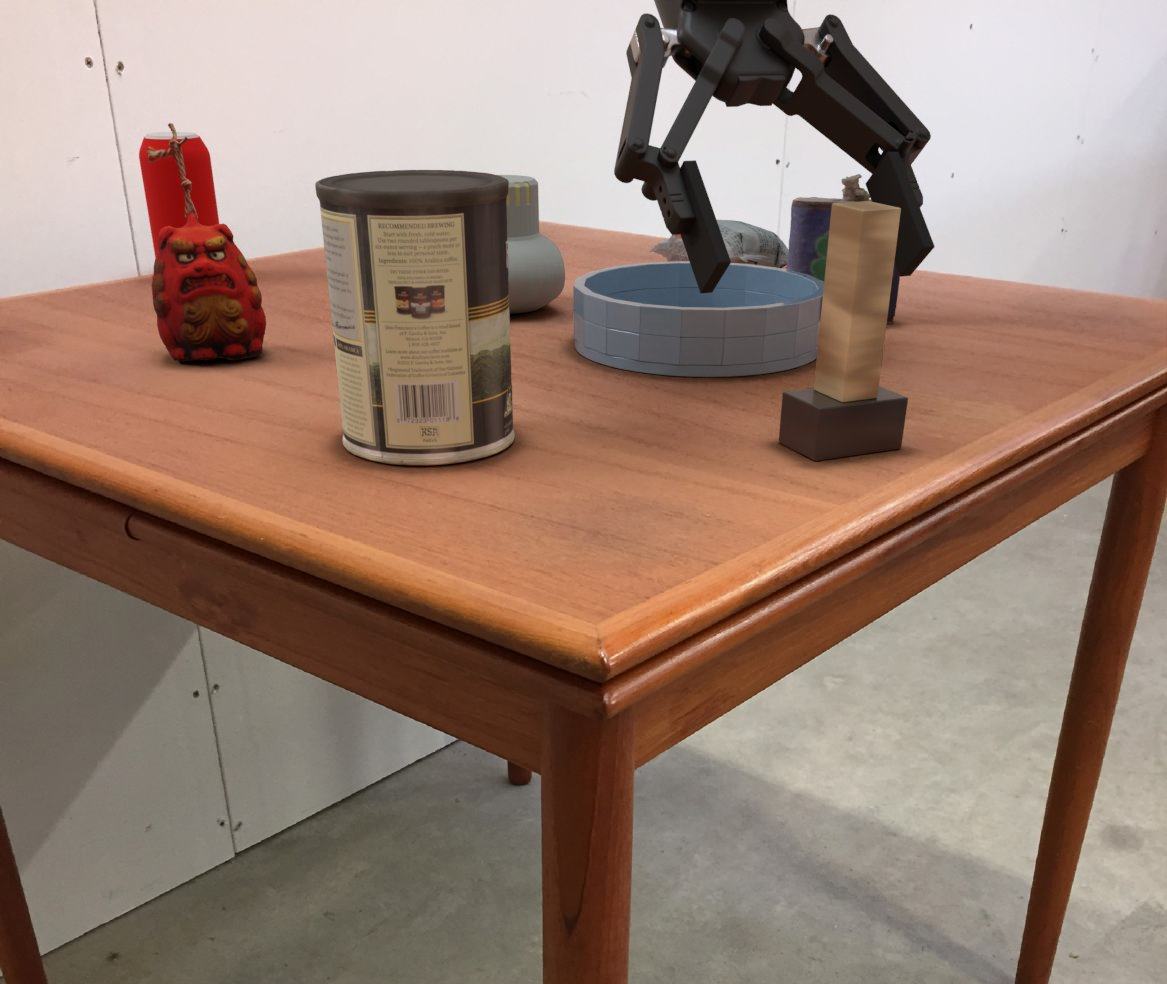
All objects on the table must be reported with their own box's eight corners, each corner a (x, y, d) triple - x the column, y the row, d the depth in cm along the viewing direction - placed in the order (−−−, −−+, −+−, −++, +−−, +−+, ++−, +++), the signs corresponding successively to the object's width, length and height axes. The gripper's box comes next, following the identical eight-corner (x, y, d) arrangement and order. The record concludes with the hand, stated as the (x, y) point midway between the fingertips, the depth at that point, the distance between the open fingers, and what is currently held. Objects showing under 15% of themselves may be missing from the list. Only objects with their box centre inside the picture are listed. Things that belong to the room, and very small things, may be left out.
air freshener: (572, 318, 104) (572, 184, 99) (475, 325, 101) (470, 188, 96) (531, 293, 112) (529, 169, 107) (441, 299, 110) (435, 173, 105)
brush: (862, 430, 77) (890, 198, 70) (901, 448, 74) (935, 207, 67) (777, 442, 75) (798, 203, 68) (814, 461, 72) (840, 213, 65)
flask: (779, 316, 104) (791, 174, 99) (786, 310, 107) (798, 170, 101) (892, 325, 102) (911, 180, 96) (897, 318, 104) (915, 175, 99)
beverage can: (203, 268, 122) (183, 129, 116) (239, 277, 119) (220, 134, 112) (146, 276, 118) (122, 133, 112) (181, 285, 115) (158, 138, 108)
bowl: (842, 331, 100) (849, 270, 98) (789, 387, 85) (795, 318, 83) (622, 312, 106) (623, 255, 103) (536, 362, 91) (535, 297, 89)
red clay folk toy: (170, 371, 88) (131, 131, 81) (154, 350, 94) (115, 123, 86) (278, 360, 91) (250, 127, 83) (256, 340, 97) (228, 120, 89)
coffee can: (463, 407, 81) (452, 164, 74) (547, 448, 74) (544, 183, 66) (312, 431, 76) (285, 174, 69) (386, 478, 69) (364, 196, 61)
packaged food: (716, 292, 113) (720, 233, 110) (647, 271, 122) (649, 215, 119) (794, 285, 116) (800, 227, 114) (722, 265, 125) (725, 211, 123)
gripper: (852, 14, 84) (959, 293, 80) (501, 14, 75) (602, 326, 72) (912, -86, 77) (1031, 214, 73) (533, -100, 68) (646, 240, 65)
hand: (819, 270), depth 72 cm, fingers open, 13 cm apart
